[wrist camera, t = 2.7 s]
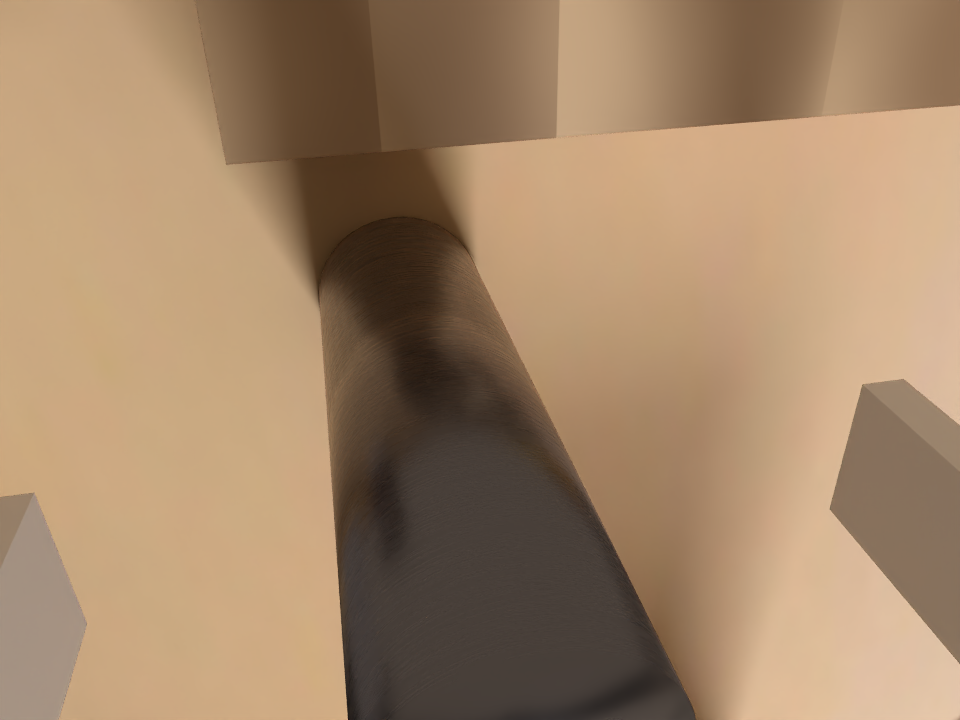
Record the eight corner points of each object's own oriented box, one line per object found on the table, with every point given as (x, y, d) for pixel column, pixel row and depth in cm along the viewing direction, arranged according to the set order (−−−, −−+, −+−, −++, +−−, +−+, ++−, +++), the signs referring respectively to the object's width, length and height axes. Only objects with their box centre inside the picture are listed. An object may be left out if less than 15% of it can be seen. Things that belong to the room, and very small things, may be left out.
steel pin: (329, 371, 21) (371, 907, 10) (308, 225, 19) (332, 696, 8) (480, 352, 21) (678, 836, 10) (475, 209, 19) (716, 624, 8)
